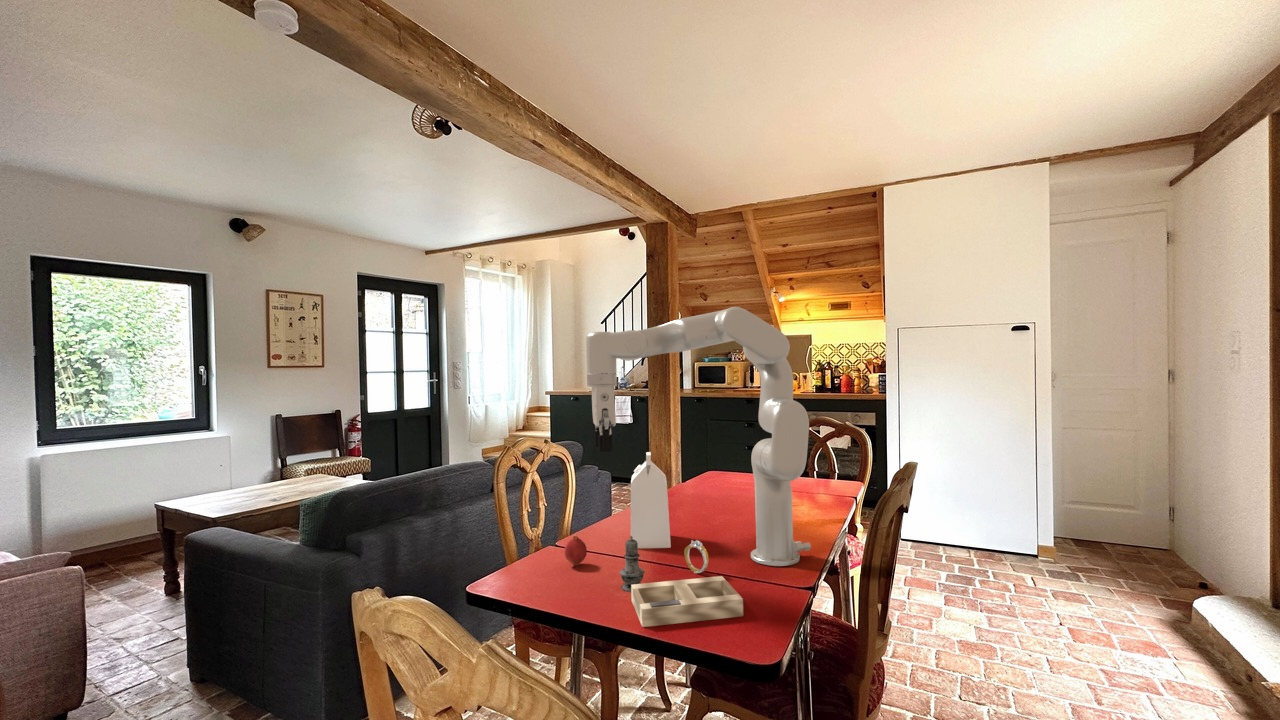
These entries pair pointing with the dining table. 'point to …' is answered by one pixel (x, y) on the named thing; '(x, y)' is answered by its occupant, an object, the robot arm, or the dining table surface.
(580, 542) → the onion
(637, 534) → the milk
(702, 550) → the gemstone ring
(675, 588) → the wooden compartment tray
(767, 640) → the dining table surface
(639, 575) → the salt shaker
